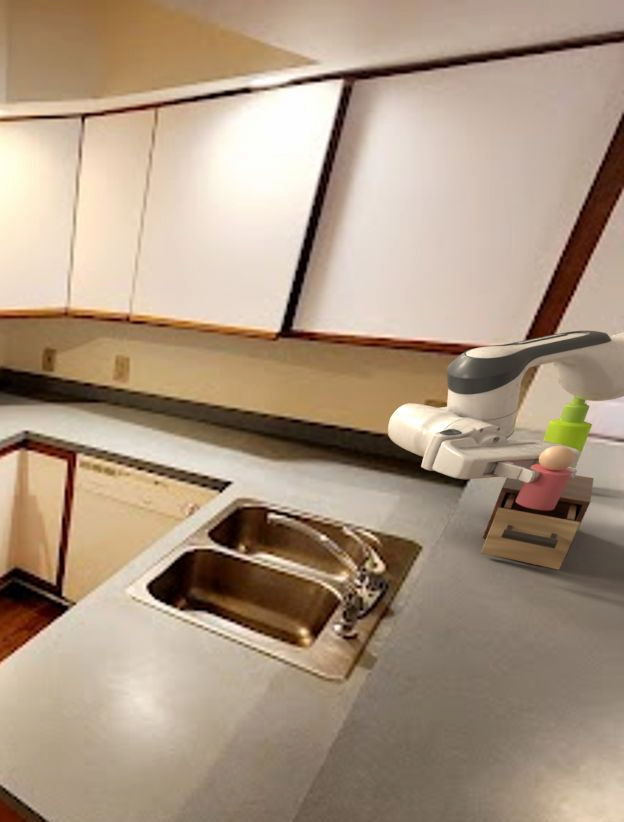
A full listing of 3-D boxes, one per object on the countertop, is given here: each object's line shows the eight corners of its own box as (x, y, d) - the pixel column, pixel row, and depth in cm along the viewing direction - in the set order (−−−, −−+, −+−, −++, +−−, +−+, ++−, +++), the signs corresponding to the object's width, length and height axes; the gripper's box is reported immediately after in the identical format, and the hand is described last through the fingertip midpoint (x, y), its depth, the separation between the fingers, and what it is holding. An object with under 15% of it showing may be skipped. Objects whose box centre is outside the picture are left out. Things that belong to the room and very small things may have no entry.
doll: (549, 501, 99) (577, 444, 95) (558, 512, 96) (587, 453, 92) (512, 496, 102) (537, 440, 97) (519, 507, 98) (546, 449, 94)
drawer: (557, 580, 93) (578, 533, 90) (476, 561, 99) (493, 517, 96) (564, 541, 104) (583, 498, 100) (492, 527, 110) (507, 486, 107)
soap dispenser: (556, 493, 124) (594, 392, 116) (520, 482, 130) (554, 386, 122) (581, 489, 125) (621, 389, 117) (544, 479, 131) (579, 383, 123)
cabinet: (566, 555, 101) (590, 502, 97) (482, 538, 108) (502, 487, 104) (571, 527, 110) (593, 477, 106) (493, 513, 117) (512, 466, 113)
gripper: (520, 460, 110) (605, 490, 98) (412, 468, 109) (484, 500, 97) (535, 426, 107) (625, 452, 95) (424, 433, 106) (501, 461, 94)
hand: (553, 476), depth 96 cm, fingers closed on doll, 4 cm apart
